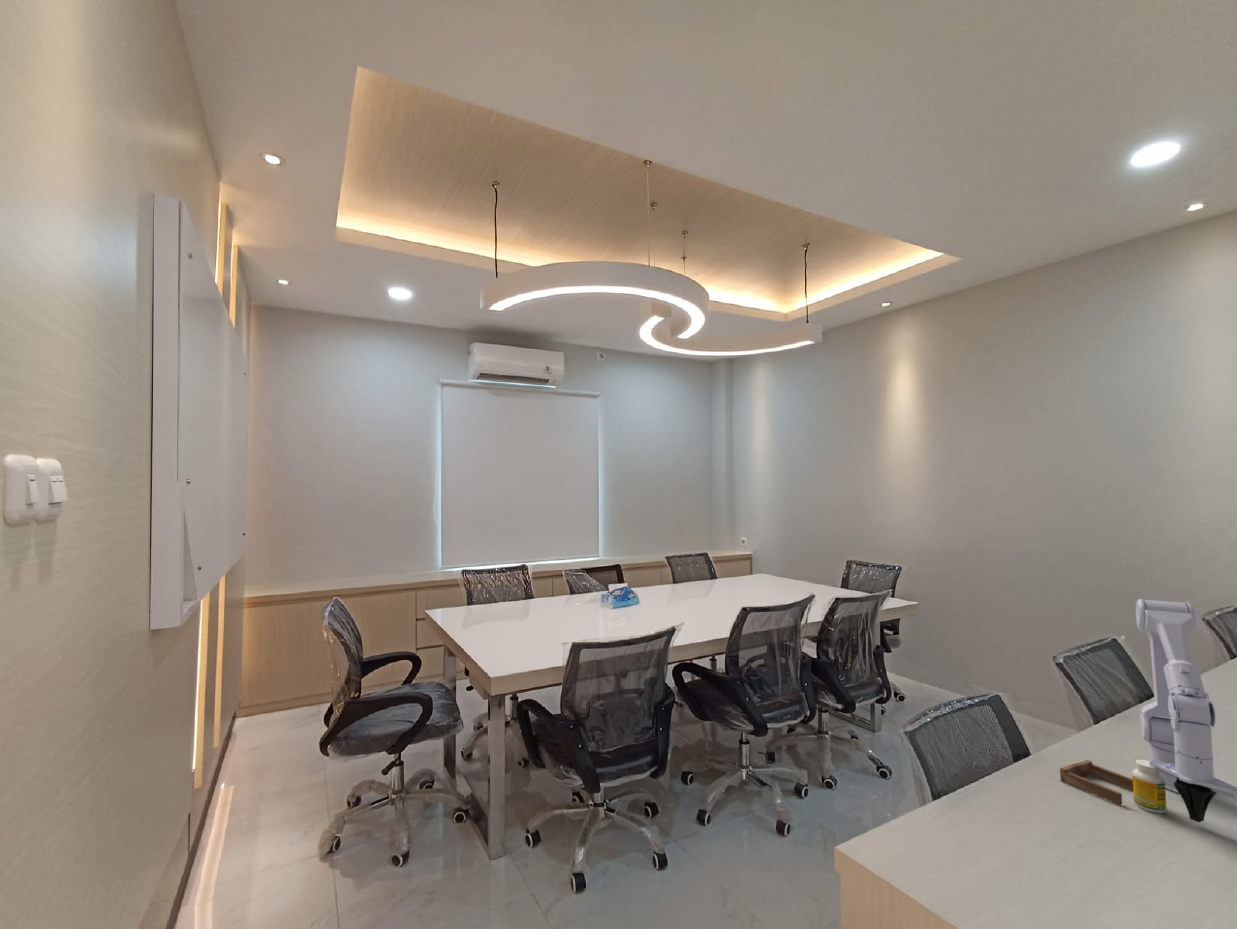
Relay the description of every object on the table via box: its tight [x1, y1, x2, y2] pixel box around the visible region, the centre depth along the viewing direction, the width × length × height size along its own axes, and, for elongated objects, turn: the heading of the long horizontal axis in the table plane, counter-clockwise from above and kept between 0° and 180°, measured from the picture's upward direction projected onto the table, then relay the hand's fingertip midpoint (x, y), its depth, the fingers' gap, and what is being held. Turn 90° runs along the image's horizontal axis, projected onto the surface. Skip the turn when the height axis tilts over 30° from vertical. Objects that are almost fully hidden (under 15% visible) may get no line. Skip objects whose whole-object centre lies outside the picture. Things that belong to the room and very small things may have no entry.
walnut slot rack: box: [1059, 759, 1133, 806], centre depth 135 cm, size 11×12×3 cm
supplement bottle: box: [1132, 759, 1167, 814], centre depth 127 cm, size 5×5×10 cm
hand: (1197, 819), depth 119 cm, fingers closed
